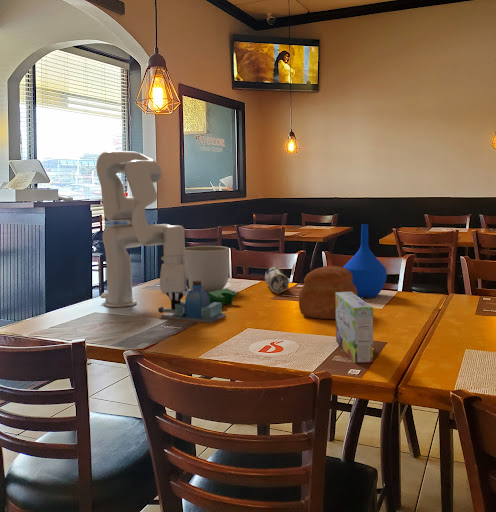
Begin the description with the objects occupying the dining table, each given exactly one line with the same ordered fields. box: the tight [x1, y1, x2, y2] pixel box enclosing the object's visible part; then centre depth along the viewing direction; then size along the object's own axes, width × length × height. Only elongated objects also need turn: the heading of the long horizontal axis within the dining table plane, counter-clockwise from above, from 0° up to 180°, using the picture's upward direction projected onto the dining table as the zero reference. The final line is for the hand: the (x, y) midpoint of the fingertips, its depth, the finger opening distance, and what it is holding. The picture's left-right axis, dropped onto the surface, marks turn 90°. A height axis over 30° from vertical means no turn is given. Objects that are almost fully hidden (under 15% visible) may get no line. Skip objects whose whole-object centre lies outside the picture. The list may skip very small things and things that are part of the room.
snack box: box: [335, 292, 374, 364], centre depth 155 cm, size 21×6×15 cm, turn 5°
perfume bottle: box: [184, 281, 209, 317], centre depth 198 cm, size 6×6×12 cm
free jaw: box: [157, 300, 186, 316], centre depth 201 cm, size 10×10×4 cm
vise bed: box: [160, 302, 226, 324], centre depth 199 cm, size 20×11×5 cm, turn 67°
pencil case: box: [264, 264, 290, 294], centre depth 250 cm, size 22×8×10 cm, turn 4°
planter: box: [185, 245, 230, 294], centre depth 250 cm, size 21×21×19 cm
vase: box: [343, 223, 388, 298], centre depth 233 cm, size 18×18×30 cm
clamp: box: [207, 288, 238, 309], centre depth 218 cm, size 12×6×9 cm, turn 134°
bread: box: [298, 265, 357, 320], centre depth 202 cm, size 18×22×17 cm
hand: (176, 310), depth 202 cm, fingers closed
